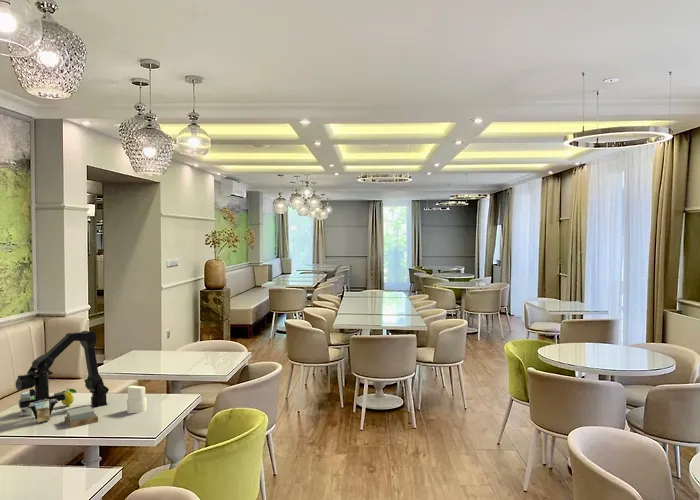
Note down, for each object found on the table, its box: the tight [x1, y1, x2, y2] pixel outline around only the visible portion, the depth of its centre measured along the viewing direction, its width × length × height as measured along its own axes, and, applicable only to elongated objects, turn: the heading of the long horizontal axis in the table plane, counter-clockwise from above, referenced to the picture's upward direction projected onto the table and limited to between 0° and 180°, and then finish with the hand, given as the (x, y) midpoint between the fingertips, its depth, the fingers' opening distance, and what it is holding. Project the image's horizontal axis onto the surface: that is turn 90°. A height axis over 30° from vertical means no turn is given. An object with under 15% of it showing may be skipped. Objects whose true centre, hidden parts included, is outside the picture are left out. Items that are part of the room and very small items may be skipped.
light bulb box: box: [19, 388, 49, 417], centre depth 261 cm, size 11×7×11 cm, turn 168°
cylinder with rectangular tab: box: [126, 385, 148, 414], centre depth 260 cm, size 9×9×12 cm
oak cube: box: [35, 406, 51, 423], centre depth 247 cm, size 5×5×5 cm
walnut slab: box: [64, 412, 99, 429], centre depth 246 cm, size 12×12×3 cm
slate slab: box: [66, 405, 95, 422], centre depth 246 cm, size 10×10×3 cm
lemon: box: [61, 387, 77, 407], centre depth 270 cm, size 7×6×10 cm
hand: (42, 417), depth 247 cm, fingers closed on oak cube, 5 cm apart
